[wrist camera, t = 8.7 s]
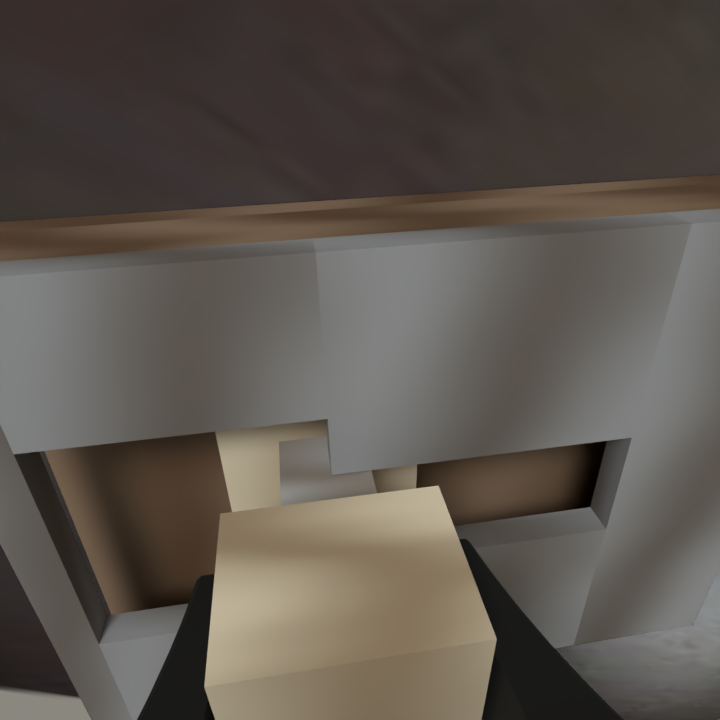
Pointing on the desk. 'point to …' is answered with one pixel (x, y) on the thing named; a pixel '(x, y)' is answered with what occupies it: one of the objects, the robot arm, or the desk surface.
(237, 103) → the desk surface
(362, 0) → the desk surface
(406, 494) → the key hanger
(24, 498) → the keyhole base
